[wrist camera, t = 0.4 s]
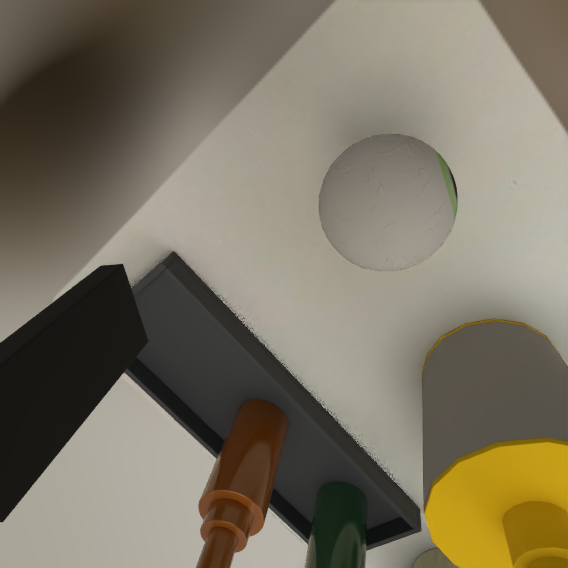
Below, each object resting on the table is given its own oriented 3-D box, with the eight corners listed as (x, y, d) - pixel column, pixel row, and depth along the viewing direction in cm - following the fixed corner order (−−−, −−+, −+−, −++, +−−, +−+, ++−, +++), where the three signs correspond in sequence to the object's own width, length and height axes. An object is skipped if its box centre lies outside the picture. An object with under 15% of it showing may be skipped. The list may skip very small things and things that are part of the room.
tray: (96, 319, 47) (82, 333, 45) (173, 250, 42) (161, 262, 40) (331, 543, 55) (329, 564, 53) (420, 509, 50) (421, 531, 48)
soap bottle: (525, 450, 44) (625, 742, 26) (391, 404, 45) (394, 657, 26) (606, 341, 38) (817, 623, 19) (449, 289, 39) (508, 515, 20)
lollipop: (448, 187, 35) (484, 272, 22) (356, 217, 37) (339, 310, 24) (420, 91, 33) (442, 122, 19) (324, 130, 35) (286, 182, 22)
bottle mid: (228, 401, 48) (157, 562, 33) (280, 397, 46) (230, 563, 31) (244, 443, 50) (184, 611, 35) (295, 440, 48) (253, 615, 34)
